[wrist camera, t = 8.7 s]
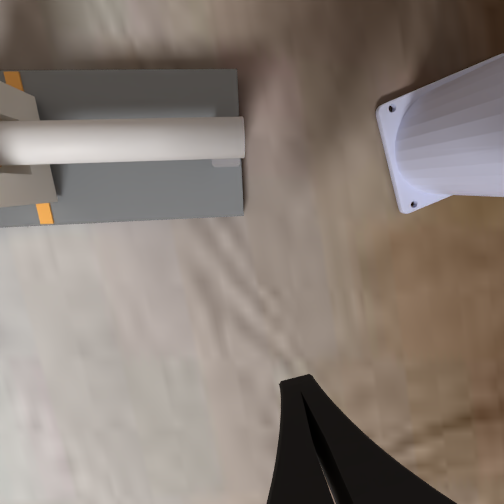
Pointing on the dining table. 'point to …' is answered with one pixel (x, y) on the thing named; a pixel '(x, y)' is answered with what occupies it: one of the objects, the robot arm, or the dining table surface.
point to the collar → (23, 176)
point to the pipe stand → (129, 144)
